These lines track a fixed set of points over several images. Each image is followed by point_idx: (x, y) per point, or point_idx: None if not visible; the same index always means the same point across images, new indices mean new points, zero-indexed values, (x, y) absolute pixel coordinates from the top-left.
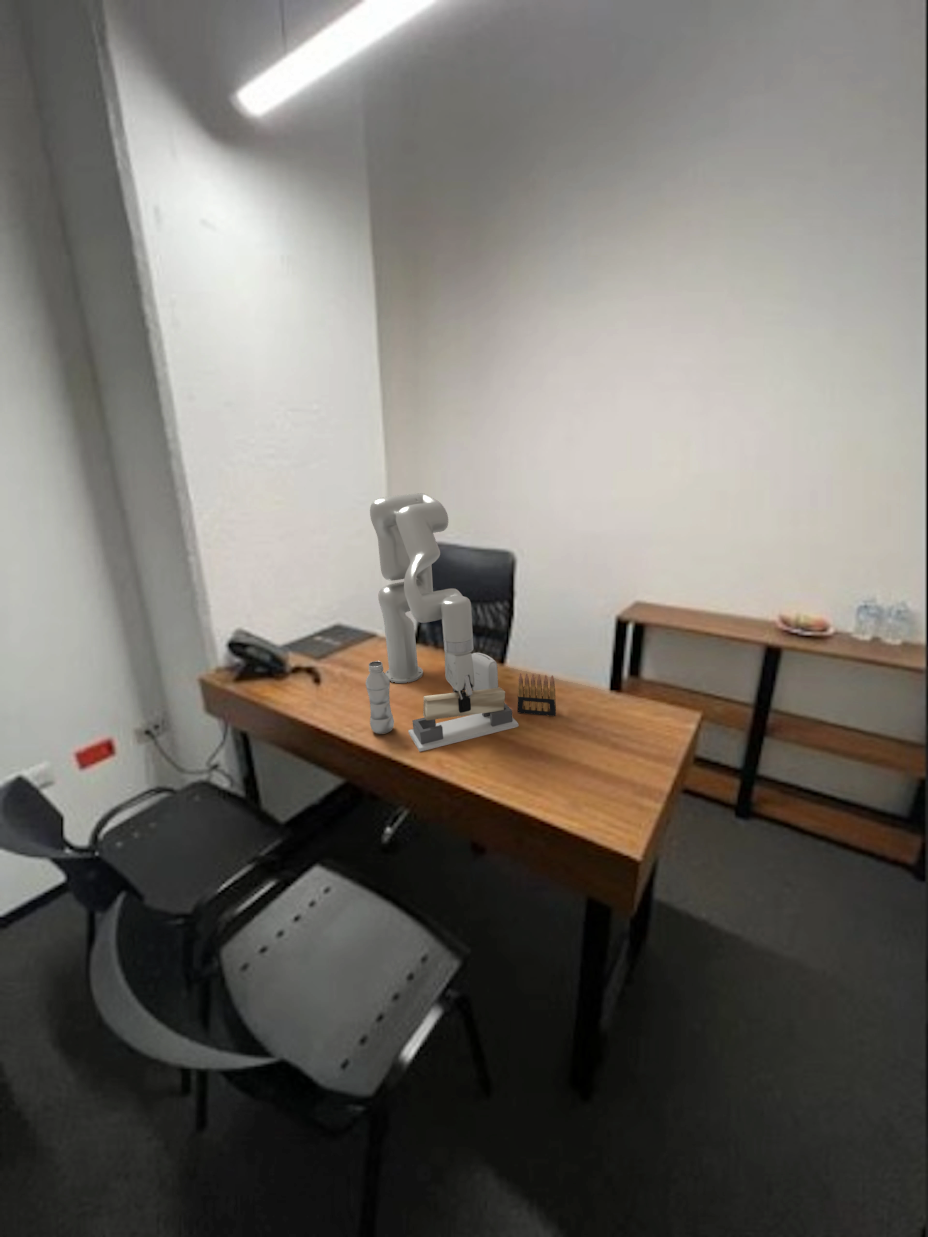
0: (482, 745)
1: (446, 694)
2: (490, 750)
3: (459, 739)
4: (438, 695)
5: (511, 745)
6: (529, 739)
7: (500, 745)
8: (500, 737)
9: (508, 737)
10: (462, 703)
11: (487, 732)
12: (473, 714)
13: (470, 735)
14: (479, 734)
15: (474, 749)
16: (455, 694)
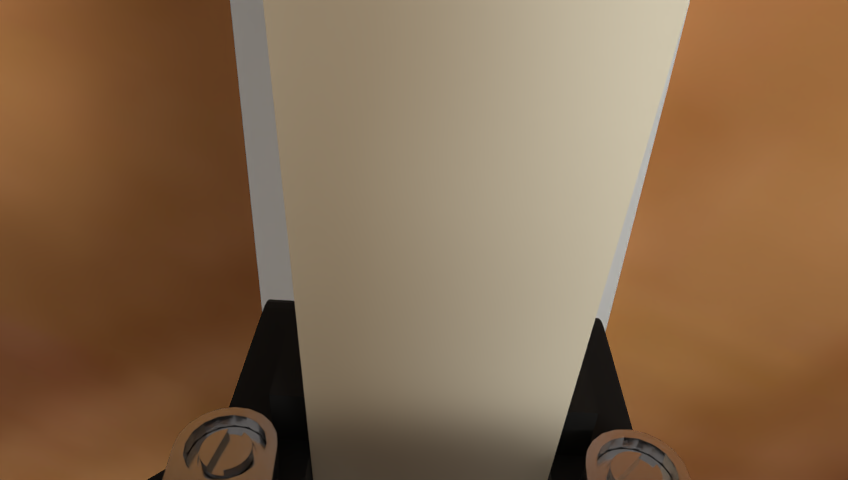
0: (105, 174)
1: (548, 293)
2: (4, 196)
3: (239, 21)
4: (584, 81)
5: (47, 347)
6: (98, 457)
7: (66, 289)
8: (187, 335)
9: (167, 376)
10: (257, 372)
11: (265, 293)
12: (606, 326)
13: (247, 150)
14: (257, 227)
15: (52, 83)
16: (465, 429)
